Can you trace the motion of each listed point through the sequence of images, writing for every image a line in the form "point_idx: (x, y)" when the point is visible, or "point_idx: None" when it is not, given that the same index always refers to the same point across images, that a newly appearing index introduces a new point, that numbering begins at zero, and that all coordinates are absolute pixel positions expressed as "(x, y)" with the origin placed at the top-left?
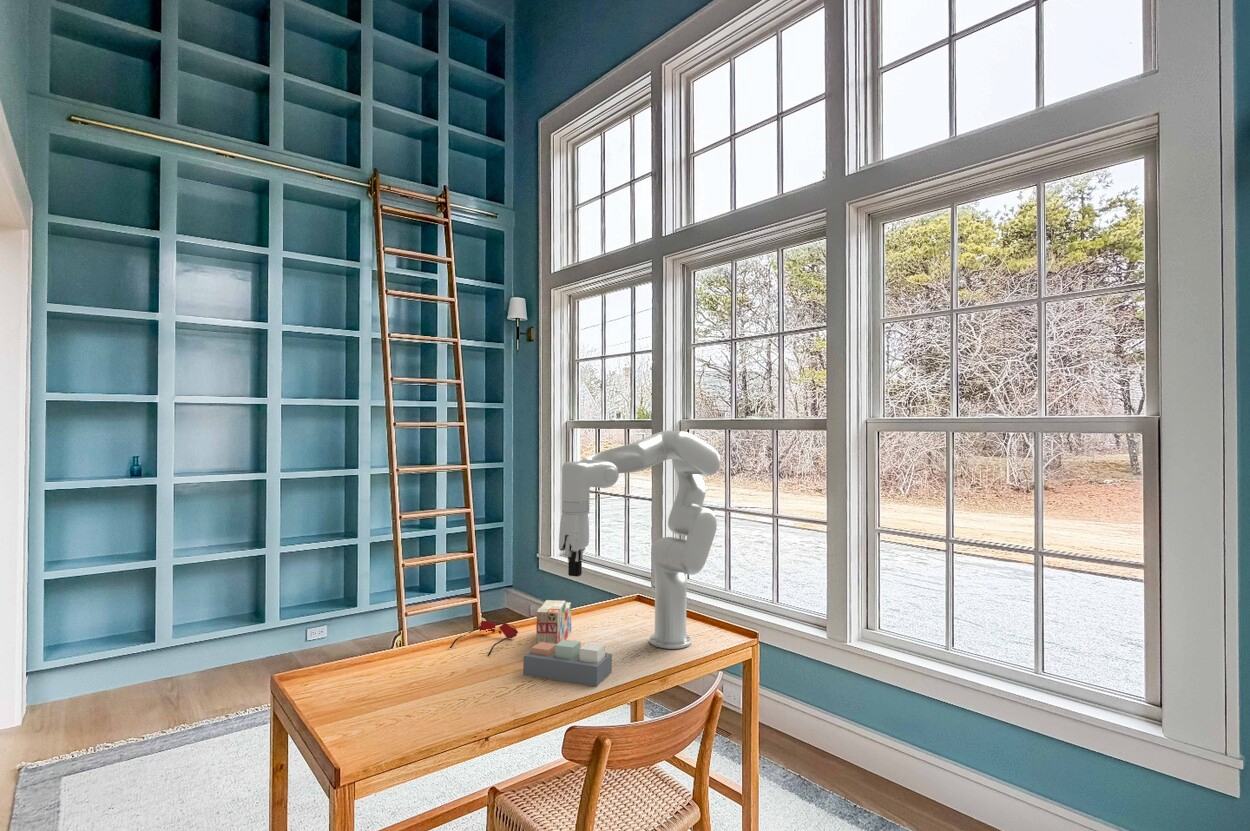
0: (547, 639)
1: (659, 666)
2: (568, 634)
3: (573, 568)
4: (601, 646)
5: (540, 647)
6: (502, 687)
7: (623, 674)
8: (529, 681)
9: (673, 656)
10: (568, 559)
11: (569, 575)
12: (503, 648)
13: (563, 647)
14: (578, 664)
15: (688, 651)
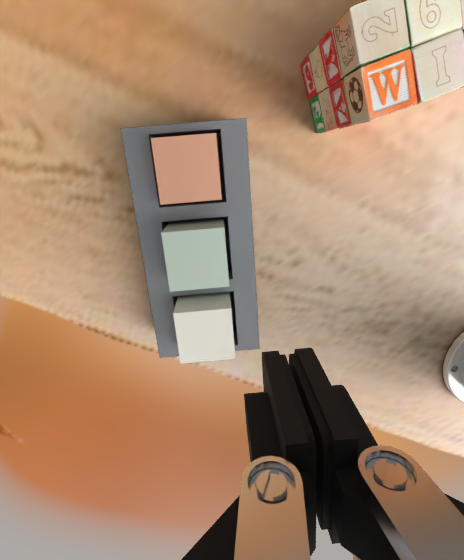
0: (322, 94)
1: None
2: None
3: (249, 448)
4: (219, 356)
5: (167, 166)
6: (34, 132)
7: (256, 350)
8: (107, 176)
9: (400, 395)
10: (240, 492)
11: (263, 357)
12: None
13: (165, 261)
14: (152, 309)
15: (441, 410)
